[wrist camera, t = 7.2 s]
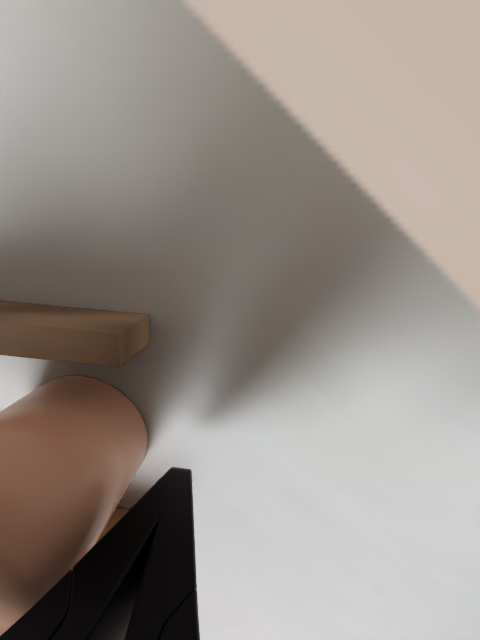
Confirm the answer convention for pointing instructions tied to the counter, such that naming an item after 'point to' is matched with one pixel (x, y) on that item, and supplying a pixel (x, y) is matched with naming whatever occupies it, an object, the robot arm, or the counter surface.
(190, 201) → the counter surface
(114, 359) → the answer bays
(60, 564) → the peach domed cylinder
